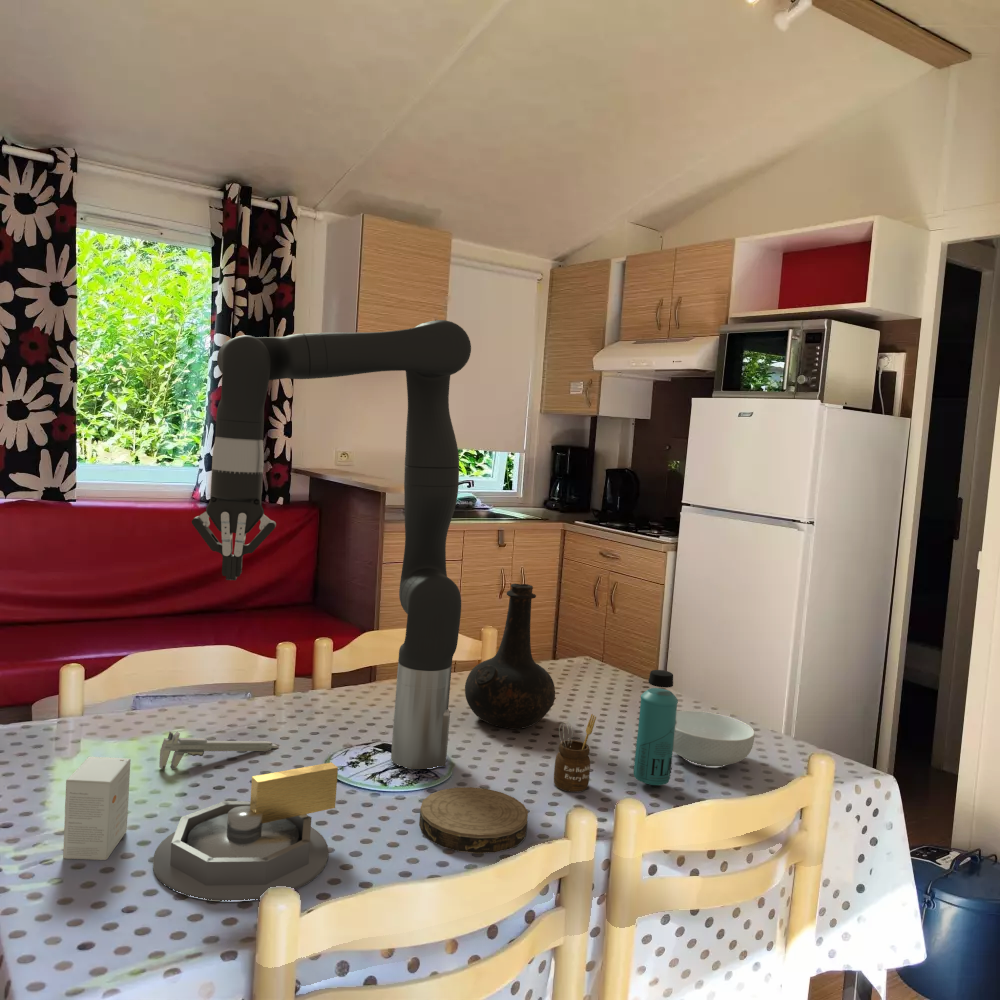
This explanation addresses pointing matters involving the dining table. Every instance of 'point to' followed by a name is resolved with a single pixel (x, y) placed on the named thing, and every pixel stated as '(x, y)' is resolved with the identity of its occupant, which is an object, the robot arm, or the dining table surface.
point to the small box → (96, 808)
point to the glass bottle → (512, 673)
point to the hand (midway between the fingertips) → (231, 579)
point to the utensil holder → (573, 762)
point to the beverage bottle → (656, 731)
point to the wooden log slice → (473, 820)
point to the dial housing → (237, 862)
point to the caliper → (204, 747)
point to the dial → (267, 813)
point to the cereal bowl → (711, 738)
